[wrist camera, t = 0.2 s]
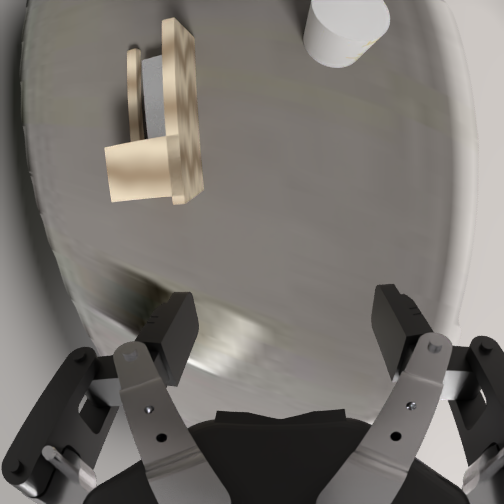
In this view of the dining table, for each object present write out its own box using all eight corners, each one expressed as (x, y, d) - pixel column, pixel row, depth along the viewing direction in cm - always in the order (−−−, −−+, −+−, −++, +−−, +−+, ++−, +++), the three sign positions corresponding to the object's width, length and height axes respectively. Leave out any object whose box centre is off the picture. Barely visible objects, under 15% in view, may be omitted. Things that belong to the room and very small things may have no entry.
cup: (353, 76, 31) (381, 54, 20) (296, 55, 31) (302, 23, 20) (366, 31, 28) (395, -1, 17) (311, 11, 28) (321, -30, 17)
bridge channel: (131, 53, 32) (102, 40, 24) (194, 37, 31) (174, 17, 23) (141, 195, 41) (113, 209, 33) (203, 190, 40) (185, 203, 32)
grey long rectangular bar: (152, 65, 33) (141, 60, 30) (171, 60, 33) (161, 54, 29) (158, 140, 37) (148, 141, 34) (177, 136, 37) (168, 137, 34)
